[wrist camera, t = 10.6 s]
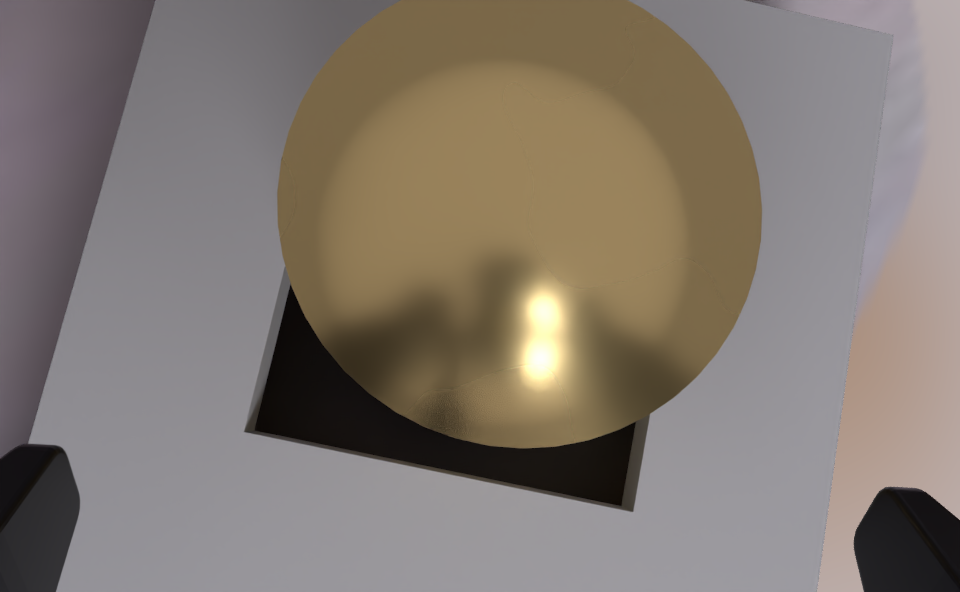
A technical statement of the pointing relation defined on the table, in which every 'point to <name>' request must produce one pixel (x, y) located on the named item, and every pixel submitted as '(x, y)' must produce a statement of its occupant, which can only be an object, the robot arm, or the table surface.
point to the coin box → (408, 486)
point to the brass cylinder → (519, 215)
